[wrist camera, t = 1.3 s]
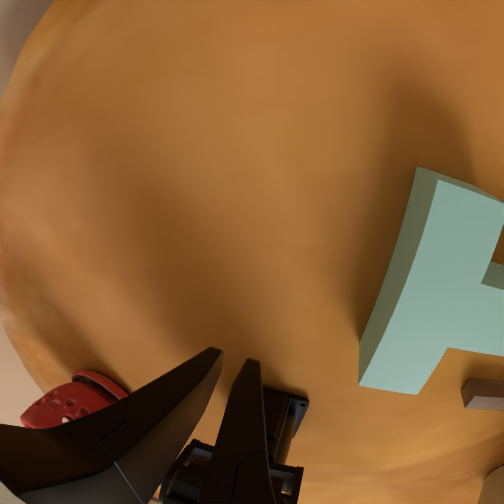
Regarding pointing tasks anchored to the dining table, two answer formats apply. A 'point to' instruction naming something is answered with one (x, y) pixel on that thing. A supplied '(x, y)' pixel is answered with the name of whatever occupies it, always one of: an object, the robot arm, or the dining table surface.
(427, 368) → the tee
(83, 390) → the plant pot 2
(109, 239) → the dining table surface
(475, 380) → the dock
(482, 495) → the plant pot
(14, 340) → the dining table surface
